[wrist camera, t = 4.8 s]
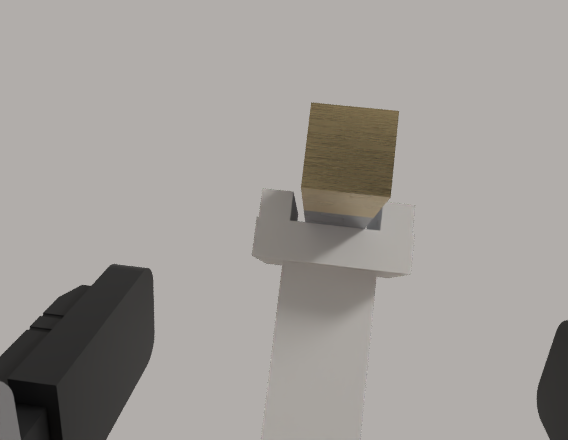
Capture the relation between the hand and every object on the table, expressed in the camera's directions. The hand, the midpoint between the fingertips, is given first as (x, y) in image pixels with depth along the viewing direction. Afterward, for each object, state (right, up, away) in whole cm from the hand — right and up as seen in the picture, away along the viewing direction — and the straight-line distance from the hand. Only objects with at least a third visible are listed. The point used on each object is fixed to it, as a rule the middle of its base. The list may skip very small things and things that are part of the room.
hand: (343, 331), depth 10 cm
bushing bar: (+1, +2, +18) cm, 19 cm away
